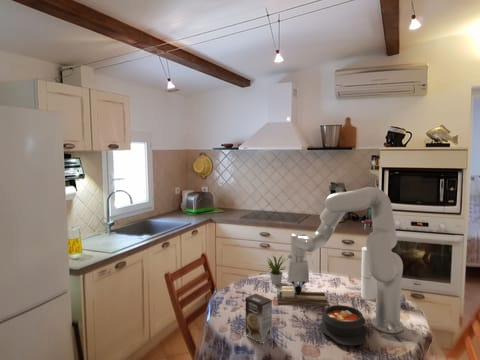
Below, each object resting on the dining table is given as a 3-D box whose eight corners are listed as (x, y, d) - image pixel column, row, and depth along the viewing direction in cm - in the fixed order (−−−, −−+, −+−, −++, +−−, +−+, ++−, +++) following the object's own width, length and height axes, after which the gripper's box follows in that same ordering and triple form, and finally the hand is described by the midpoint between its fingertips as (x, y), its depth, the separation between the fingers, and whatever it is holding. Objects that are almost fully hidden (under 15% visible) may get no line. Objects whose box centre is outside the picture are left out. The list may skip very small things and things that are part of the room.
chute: (327, 305, 167) (327, 297, 167) (277, 304, 169) (277, 296, 169) (323, 295, 179) (324, 287, 179) (277, 294, 181) (277, 286, 181)
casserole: (378, 349, 131) (378, 328, 130) (329, 351, 130) (329, 329, 129) (354, 317, 156) (354, 299, 155) (313, 318, 155) (313, 300, 154)
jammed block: (294, 299, 172) (294, 291, 171) (282, 299, 172) (282, 291, 172) (293, 294, 177) (293, 286, 177) (281, 294, 178) (281, 286, 178)
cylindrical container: (378, 300, 173) (379, 250, 170) (363, 300, 173) (364, 250, 170) (373, 294, 180) (374, 246, 177) (359, 294, 180) (359, 246, 178)
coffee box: (245, 335, 141) (244, 297, 140) (255, 329, 146) (255, 292, 144) (261, 344, 135) (261, 304, 133) (272, 338, 139) (272, 299, 138)
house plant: (290, 278, 202) (290, 251, 201) (291, 288, 189) (291, 258, 187) (266, 278, 204) (265, 250, 202) (265, 287, 190) (265, 258, 188)
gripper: (283, 259, 170) (283, 296, 171) (314, 260, 168) (314, 297, 170) (282, 255, 177) (282, 290, 179) (312, 255, 176) (312, 290, 177)
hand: (298, 293), depth 174 cm, fingers closed
